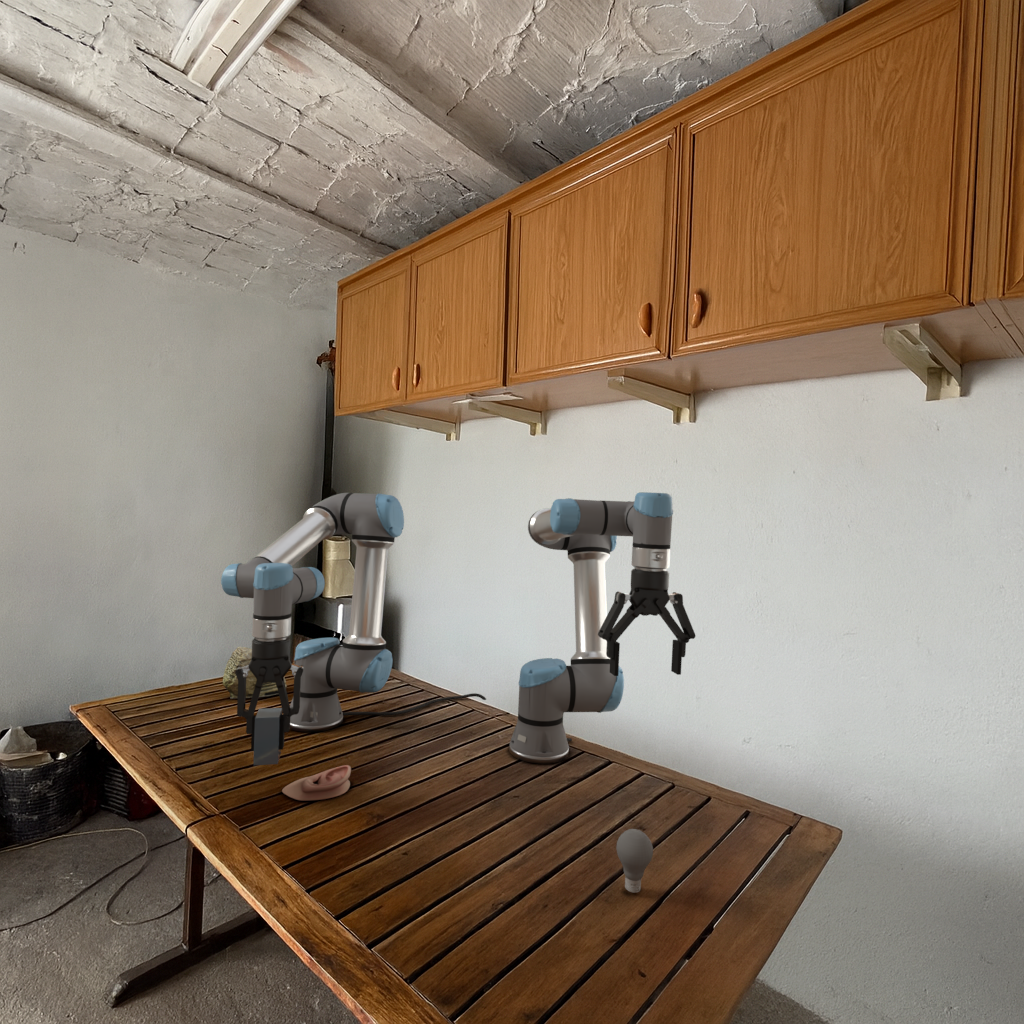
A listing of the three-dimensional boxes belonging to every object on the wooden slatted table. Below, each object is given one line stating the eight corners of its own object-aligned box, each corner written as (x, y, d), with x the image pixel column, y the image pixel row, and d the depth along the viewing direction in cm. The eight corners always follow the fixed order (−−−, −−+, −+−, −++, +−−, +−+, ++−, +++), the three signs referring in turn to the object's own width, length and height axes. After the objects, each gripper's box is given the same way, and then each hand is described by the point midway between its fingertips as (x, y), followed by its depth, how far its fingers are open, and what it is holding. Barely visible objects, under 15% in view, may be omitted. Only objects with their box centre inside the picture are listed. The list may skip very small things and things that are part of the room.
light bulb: (610, 879, 108) (613, 822, 108) (644, 879, 109) (647, 822, 109) (619, 902, 102) (622, 840, 102) (655, 901, 103) (658, 840, 103)
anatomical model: (274, 778, 132) (303, 756, 144) (273, 796, 132) (302, 774, 144) (333, 786, 130) (357, 764, 141) (332, 805, 130) (357, 781, 141)
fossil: (218, 695, 195) (220, 647, 195) (278, 685, 208) (279, 640, 207) (228, 703, 189) (230, 653, 188) (289, 692, 201) (290, 645, 201)
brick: (253, 765, 130) (254, 718, 129) (257, 754, 135) (259, 708, 135) (277, 764, 131) (279, 717, 130) (280, 752, 136) (282, 707, 136)
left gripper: (221, 642, 127) (218, 757, 127) (314, 641, 131) (310, 752, 131) (229, 634, 134) (225, 743, 134) (316, 633, 138) (313, 738, 139)
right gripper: (598, 570, 121) (593, 680, 122) (715, 572, 127) (710, 677, 127) (585, 565, 129) (580, 669, 129) (696, 567, 134) (692, 667, 135)
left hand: (267, 747), depth 133 cm, fingers closed on brick, 5 cm apart
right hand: (645, 673), depth 128 cm, fingers open, 13 cm apart
